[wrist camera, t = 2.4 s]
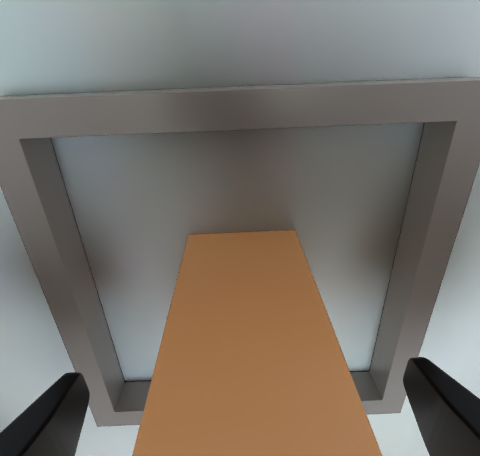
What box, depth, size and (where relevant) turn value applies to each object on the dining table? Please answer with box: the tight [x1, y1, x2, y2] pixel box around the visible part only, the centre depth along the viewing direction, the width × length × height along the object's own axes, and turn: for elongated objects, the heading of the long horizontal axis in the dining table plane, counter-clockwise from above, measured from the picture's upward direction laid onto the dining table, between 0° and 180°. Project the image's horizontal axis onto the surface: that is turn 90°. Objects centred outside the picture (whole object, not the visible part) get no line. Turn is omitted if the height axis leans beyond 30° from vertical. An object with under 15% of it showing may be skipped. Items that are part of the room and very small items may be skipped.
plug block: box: [132, 230, 382, 456], centre depth 9 cm, size 4×4×8 cm
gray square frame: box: [0, 77, 480, 427], centre depth 12 cm, size 14×14×2 cm
